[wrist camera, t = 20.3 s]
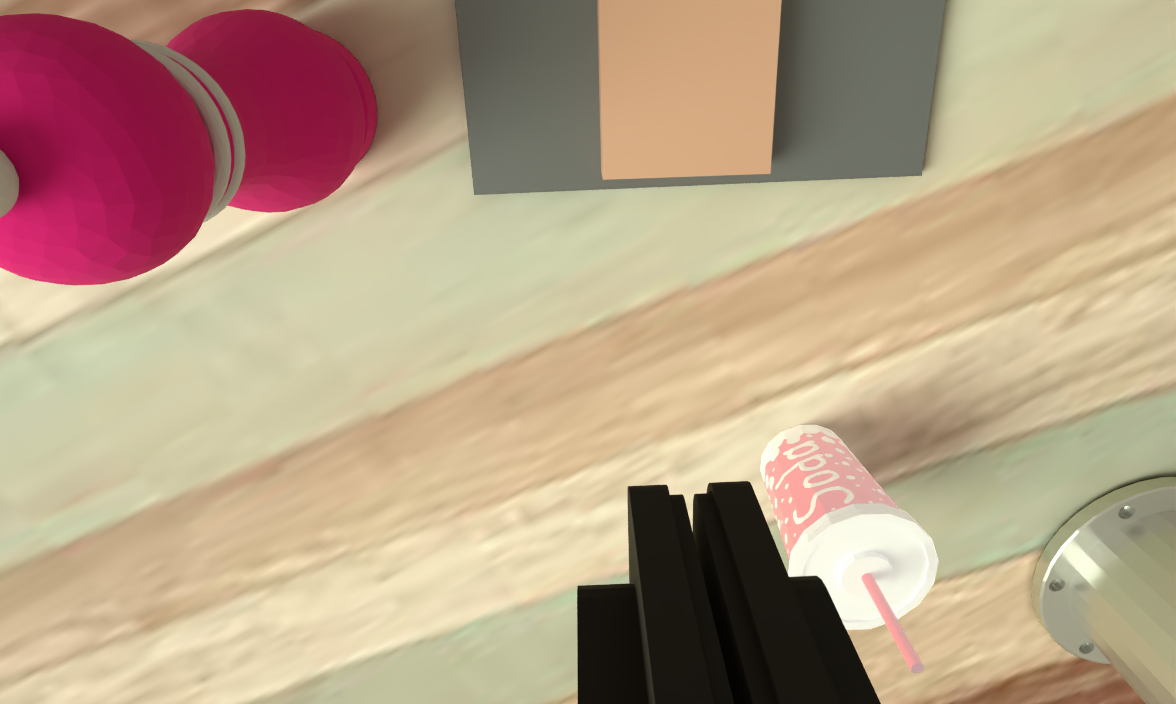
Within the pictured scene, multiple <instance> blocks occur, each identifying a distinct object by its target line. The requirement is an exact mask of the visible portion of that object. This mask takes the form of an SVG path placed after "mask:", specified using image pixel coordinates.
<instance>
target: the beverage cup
mask: <svg viewBox="0 0 1176 704" xmlns="http://www.w3.org/2000/svg"><path fill="white" fill-rule="evenodd" d="M760 471H761V474H762V477H763V480H764V483H765V486H766V489H767V492H768V495H769V498H770V502H771V505H772V508H773V511H774V514H775V517H776V520H777V523H778V526H779V529H780V533H781V536H782V539H783V542H784V545H785V548H786V551H787V554H788V557H789V560H790V562H789V571H788V575H789V577H795V576H818V577H819V578H821V579H822V581H823V583H824V584H825V586H826V588H827V590H828V592H829V594H830V596H831V598H832V600H833V603H834V605H835V607H836V609H837V611H838V613H839V615H840V618H841V620H842V622H843V624H844V626H845V628H846V630H854V629H872V628H875V627H878V626H881V625H884V624H886V625H887V627H888V629H889V631H890V633H891V635H892V637H893V638H894V640H895V642H896V644H897V646H898V648H899V649H900V651H901V653H902V655H903V657H904V659H905V661H906V662H907V664H908V666H909V668H910V670H911V671H912V672H913V673H920V672H921V671H923V669H924V666H923V664H922V662H921V660H920V658H919V657H918V655H917V653H916V651H915V650H914V648H913V646H912V644H911V643H910V641H909V639H908V637H907V636H906V634H905V632H904V630H903V628H902V627H901V625H900V623H899V621H898V619H899V618H900V617H902V616H903V615H905V614H906V613H908V612H909V611H910V610H912V609H913V608H915V607H916V606H918V605H919V604H920V602H921V601H922V600H923V598H924V597H925V595H926V594H927V593H928V591H929V590H930V588H931V587H932V586H933V584H934V581H935V576H936V571H937V566H938V562H939V560H938V557H937V554H936V550H935V547H934V544H933V540H932V538H931V537H930V536H929V534H927V533H926V532H925V531H924V529H923V527H922V526H921V525H919V524H918V523H917V522H916V521H915V520H914V519H913V518H912V517H911V516H910V515H909V514H908V513H907V512H906V511H903V510H900V509H899V508H898V507H897V505H896V504H895V503H894V502H893V501H892V500H891V498H890V497H889V496H888V495H887V494H886V492H885V491H884V490H883V489H882V488H881V486H880V485H879V484H878V483H877V482H876V481H875V479H874V478H873V477H872V476H871V475H870V473H869V472H868V471H867V470H866V469H865V467H864V466H863V465H862V464H861V463H860V462H859V460H858V459H857V458H856V457H855V456H854V454H853V453H852V452H851V451H850V450H849V448H848V447H847V446H846V445H845V444H844V443H843V441H842V440H841V439H840V438H839V437H838V436H837V435H836V434H835V433H834V432H833V431H832V430H830V429H827V428H824V427H821V426H819V425H797V426H795V427H792V428H789V429H787V430H784V431H782V432H781V433H779V434H778V435H777V436H776V437H775V438H773V439H772V440H771V441H770V442H769V443H768V445H767V447H766V449H765V451H764V452H763V454H762V458H761V469H760Z"/></svg>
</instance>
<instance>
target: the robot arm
mask: <svg viewBox="0 0 1176 704" xmlns="http://www.w3.org/2000/svg"><path fill="white" fill-rule="evenodd" d="M628 536H629V581H630V584H610V585H587V586H578V589H577V618H578V704H881V703H880V701H879V699H878V697H877V695H876V693H875V690H874V688H873V686H872V684H871V682H870V680H869V678H868V675H867V673H866V671H865V669H864V667H863V665H862V663H861V660H860V658H859V656H858V654H857V652H856V650H855V648H854V645H853V643H852V641H851V639H850V637H849V635H848V633H847V630H846V628H845V626H844V624H843V622H842V620H841V618H840V615H839V613H838V611H837V609H836V607H835V605H834V603H833V600H832V598H831V596H830V594H829V592H828V590H827V588H826V586H825V584H824V583H823V581H822V579H821V578H819V577H818V576H795V577H788V574H787V572H786V569H785V567H784V564H783V562H782V559H781V557H780V554H779V552H778V549H777V547H776V544H775V542H774V539H773V537H772V535H771V532H770V530H769V527H768V525H767V522H766V520H765V517H764V515H763V512H762V510H761V507H760V505H759V502H758V500H757V497H756V495H755V493H754V490H753V488H752V485H751V484H750V482H748V481H741V482H718V483H709V484H708V488H707V493H706V494H695V495H694V499H693V532H692V528H691V524H690V520H689V516H688V512H687V508H686V503H685V499H684V496H683V495H669V490H668V486H667V485H648V486H628ZM1031 597H1032V602H1033V607H1034V611H1035V613H1036V615H1037V617H1038V619H1039V621H1040V623H1041V625H1042V626H1043V627H1044V628H1045V630H1046V631H1047V632H1048V633H1049V635H1050V636H1051V637H1052V638H1053V640H1054V641H1055V642H1057V643H1058V644H1059V645H1060V646H1061V647H1062V648H1064V649H1065V650H1066V651H1068V652H1070V653H1072V654H1073V655H1075V656H1077V657H1079V658H1083V659H1086V660H1090V661H1093V662H1097V663H1105V664H1112V666H1113V667H1114V668H1115V669H1116V670H1117V671H1118V673H1119V674H1120V675H1121V676H1122V677H1123V678H1124V679H1125V681H1126V682H1127V683H1128V684H1129V685H1130V686H1131V687H1132V689H1133V690H1134V691H1135V692H1136V693H1137V694H1138V695H1139V697H1140V698H1141V699H1142V700H1143V701H1144V702H1145V703H1146V704H1176V477H1161V478H1156V479H1151V480H1146V481H1141V482H1137V483H1134V484H1131V485H1129V486H1126V487H1123V488H1120V489H1117V490H1115V491H1113V492H1111V493H1109V494H1107V495H1105V496H1103V497H1101V498H1099V499H1097V500H1095V501H1094V502H1092V503H1091V504H1089V505H1088V506H1086V507H1085V508H1084V509H1082V510H1081V511H1079V512H1078V513H1076V514H1075V515H1074V516H1073V517H1072V518H1071V519H1070V520H1069V521H1068V522H1067V523H1066V524H1064V525H1063V526H1062V527H1061V528H1060V529H1059V531H1058V532H1057V533H1056V534H1055V536H1054V537H1053V538H1052V539H1051V541H1050V542H1049V543H1048V544H1047V546H1046V548H1045V550H1044V552H1043V553H1042V555H1041V557H1040V559H1039V561H1038V563H1037V566H1036V569H1035V573H1034V576H1033V579H1032V593H1031Z"/></svg>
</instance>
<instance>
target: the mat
mask: <svg viewBox="0 0 1176 704" xmlns="http://www.w3.org/2000/svg"><path fill="white" fill-rule="evenodd" d="M455 6H456V16H457V26H458V36H459V46H460V56H461V66H462V76H463V86H464V96H465V106H466V116H467V126H468V137H469V147H470V157H471V167H472V177H473V187H474V195H483V194H506V193H529V192H553V191H576V190H599V189H622V188H645V187H668V186H692V185H715V184H738V183H761V182H784V181H808V180H831V179H854V178H877V177H900V176H922V170H923V162H924V155H925V147H926V140H927V133H928V125H929V118H930V111H931V103H932V96H933V88H934V81H935V74H936V66H937V59H938V52H939V44H940V37H941V29H942V22H943V15H944V7H945V0H782V1H781V17H780V32H779V48H778V64H777V80H776V95H775V111H774V127H773V142H772V158H771V174H751V175H722V176H694V177H666V178H638V179H610V180H603V178H602V173H601V138H600V98H599V58H598V17H597V0H455Z"/></svg>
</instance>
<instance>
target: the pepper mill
mask: <svg viewBox="0 0 1176 704" xmlns="http://www.w3.org/2000/svg"><path fill="white" fill-rule="evenodd" d="M376 124H377V106H376V99H375V95H374V91H373V88H372V85H371V83H370V80H369V78H368V76H367V74H366V73H365V71H364V69H363V67H362V66H361V65H360V63H359V62H358V61H357V59H356V58H355V57H354V56H353V55H352V54H351V53H350V52H349V51H348V50H347V49H346V48H345V47H344V46H342V45H341V44H340V43H338V42H337V41H335V40H334V39H332V38H330V37H328V36H327V35H325V34H322V33H320V32H317V31H314V30H312V29H311V28H309V27H307V26H305V25H304V24H302V23H300V22H298V21H297V20H295V19H292V18H290V17H287V16H284V15H282V14H279V13H274V12H270V11H265V10H251V9H245V10H236V11H228V12H221V13H218V14H214V15H211V16H208V17H204V18H203V19H201V20H199V21H197V22H195V23H193V24H191V25H190V26H189V27H187V28H186V29H185V30H183V31H182V32H181V33H180V34H178V35H177V36H176V37H174V38H173V39H172V40H171V41H170V42H169V43H168V45H167V46H166V47H165V46H162V45H159V44H156V43H151V42H146V41H138V40H129V39H127V38H125V37H123V36H122V35H120V34H117V33H115V32H113V31H110V30H108V29H106V28H104V27H101V26H99V25H97V24H94V23H90V22H86V21H81V20H77V19H72V18H68V17H63V16H59V15H51V14H38V13H36V14H16V15H4V16H0V268H3V269H5V270H7V271H10V272H12V273H14V274H17V275H19V276H22V277H25V278H29V279H32V280H36V281H43V282H50V283H56V284H65V285H96V284H106V283H111V282H116V281H121V280H126V279H129V278H132V277H135V276H137V275H140V274H143V273H145V272H148V271H150V270H152V269H154V268H156V267H158V266H160V265H162V264H164V263H165V262H167V261H168V260H169V259H171V258H172V257H173V256H175V255H176V254H178V253H179V252H180V251H181V250H182V249H183V248H184V247H185V246H186V245H187V244H188V243H189V242H190V241H191V240H192V239H193V238H194V237H195V236H196V234H197V232H198V231H199V229H200V227H201V225H202V223H203V222H206V221H208V220H209V219H211V218H212V217H214V216H215V215H217V214H218V213H219V212H220V211H222V210H223V209H224V208H225V207H226V206H227V205H228V206H232V207H236V208H240V209H245V210H251V211H259V212H285V211H290V210H294V209H297V208H301V207H304V206H308V205H311V204H314V203H316V202H318V201H320V200H322V199H324V198H326V197H328V196H329V195H330V194H331V193H333V192H334V191H335V190H337V189H338V188H339V187H340V186H341V185H342V184H343V183H344V181H345V180H346V179H347V178H348V176H349V175H350V174H351V172H352V171H353V169H354V167H355V165H356V164H357V163H358V162H359V161H360V160H361V159H362V158H363V156H364V155H365V154H366V152H367V151H368V149H369V147H370V145H371V143H372V140H373V138H374V134H375V130H376Z"/></svg>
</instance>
